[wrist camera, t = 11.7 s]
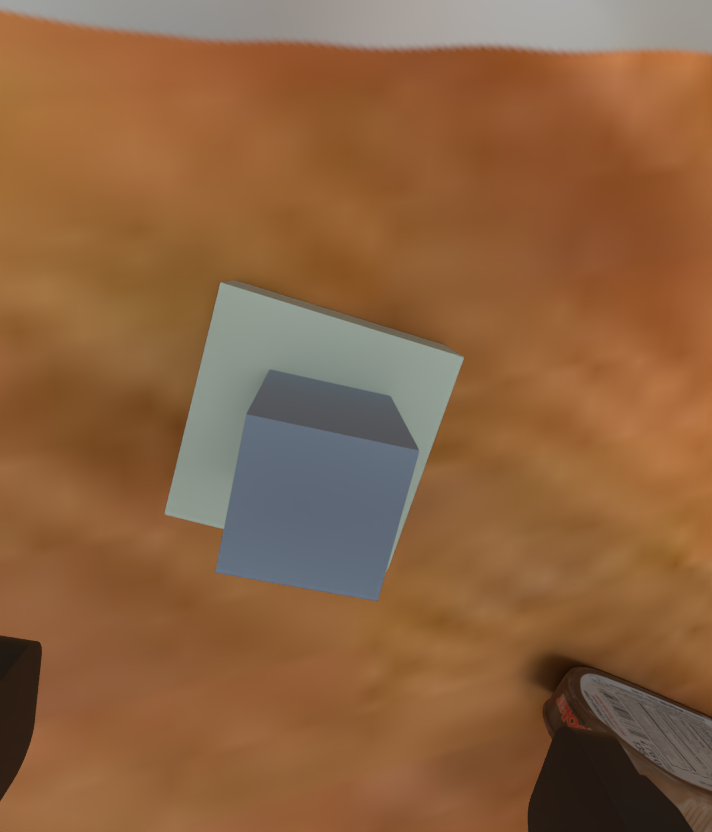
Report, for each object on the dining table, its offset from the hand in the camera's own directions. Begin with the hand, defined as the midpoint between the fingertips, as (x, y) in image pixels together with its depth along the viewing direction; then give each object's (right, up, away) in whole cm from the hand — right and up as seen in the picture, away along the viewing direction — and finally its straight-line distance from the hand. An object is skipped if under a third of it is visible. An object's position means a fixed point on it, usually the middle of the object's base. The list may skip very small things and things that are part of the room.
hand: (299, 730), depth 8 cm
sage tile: (-1, +5, +18) cm, 19 cm away
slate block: (-1, +4, +14) cm, 15 cm away
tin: (+17, -12, +24) cm, 32 cm away
